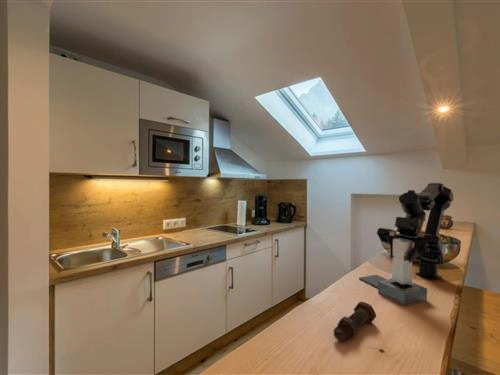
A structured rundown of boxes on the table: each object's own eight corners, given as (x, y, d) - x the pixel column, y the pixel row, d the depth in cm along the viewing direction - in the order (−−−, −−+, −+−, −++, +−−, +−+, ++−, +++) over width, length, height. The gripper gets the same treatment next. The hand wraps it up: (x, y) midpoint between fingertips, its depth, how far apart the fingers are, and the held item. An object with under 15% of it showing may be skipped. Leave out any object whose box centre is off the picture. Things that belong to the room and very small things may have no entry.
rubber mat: (376, 276, 102) (376, 274, 102) (396, 284, 94) (396, 283, 94) (358, 279, 99) (358, 277, 99) (377, 288, 91) (377, 286, 91)
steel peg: (400, 278, 87) (401, 238, 86) (411, 282, 83) (412, 240, 82) (392, 279, 85) (392, 239, 85) (402, 284, 82) (403, 242, 81)
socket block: (399, 288, 91) (399, 277, 91) (426, 300, 81) (427, 288, 81) (377, 292, 87) (378, 281, 87) (404, 306, 78) (404, 293, 78)
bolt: (335, 348, 62) (363, 323, 71) (353, 348, 58) (379, 321, 68) (325, 323, 63) (353, 302, 73) (341, 321, 60) (368, 299, 70)
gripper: (379, 205, 93) (364, 240, 87) (440, 210, 79) (428, 252, 72) (388, 224, 98) (374, 258, 92) (447, 232, 84) (436, 272, 77)
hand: (400, 259), depth 83 cm, fingers closed on steel peg, 5 cm apart
